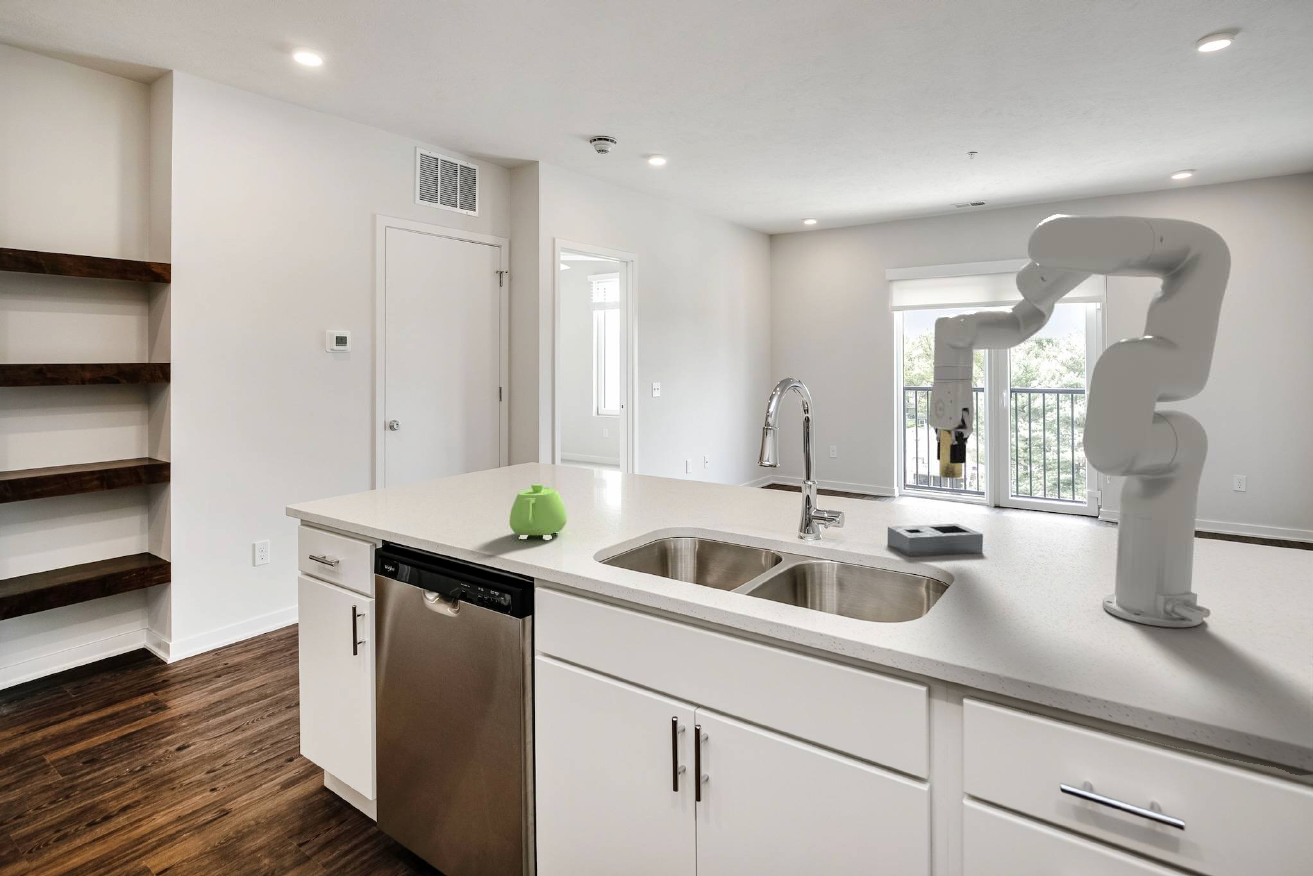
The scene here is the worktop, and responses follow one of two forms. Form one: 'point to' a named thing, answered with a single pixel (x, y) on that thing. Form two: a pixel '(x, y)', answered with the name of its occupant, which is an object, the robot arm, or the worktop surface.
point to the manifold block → (935, 540)
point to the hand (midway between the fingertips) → (951, 460)
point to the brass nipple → (948, 456)
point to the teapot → (538, 512)
